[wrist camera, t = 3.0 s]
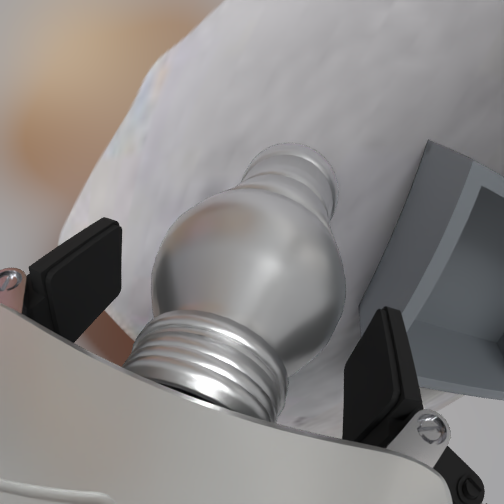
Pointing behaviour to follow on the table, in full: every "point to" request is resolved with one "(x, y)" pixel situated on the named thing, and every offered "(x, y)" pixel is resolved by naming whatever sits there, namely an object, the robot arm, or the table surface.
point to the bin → (448, 275)
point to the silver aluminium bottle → (247, 286)
